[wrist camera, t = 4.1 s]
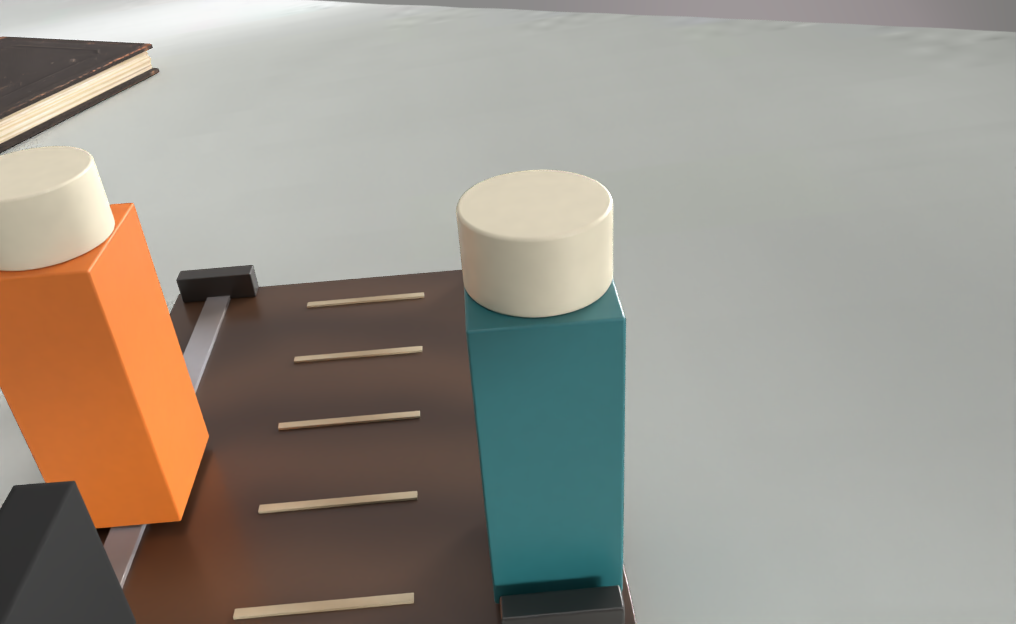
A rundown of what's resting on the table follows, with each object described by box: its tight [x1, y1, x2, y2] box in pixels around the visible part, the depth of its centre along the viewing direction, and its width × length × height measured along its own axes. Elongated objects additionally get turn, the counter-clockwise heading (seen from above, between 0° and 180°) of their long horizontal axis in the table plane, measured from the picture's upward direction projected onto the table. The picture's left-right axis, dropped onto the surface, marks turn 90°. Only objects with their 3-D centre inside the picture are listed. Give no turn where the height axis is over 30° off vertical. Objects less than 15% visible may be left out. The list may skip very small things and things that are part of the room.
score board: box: [96, 265, 637, 624], centre depth 32 cm, size 20×17×2 cm
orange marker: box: [0, 146, 209, 528], centre depth 26 cm, size 4×4×11 cm
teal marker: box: [456, 170, 626, 604], centre depth 23 cm, size 4×4×11 cm
